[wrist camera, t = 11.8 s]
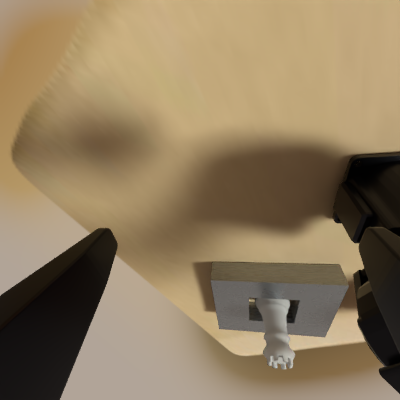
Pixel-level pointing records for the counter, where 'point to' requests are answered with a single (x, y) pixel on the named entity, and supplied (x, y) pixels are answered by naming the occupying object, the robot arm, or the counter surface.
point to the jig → (278, 294)
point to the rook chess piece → (276, 331)
